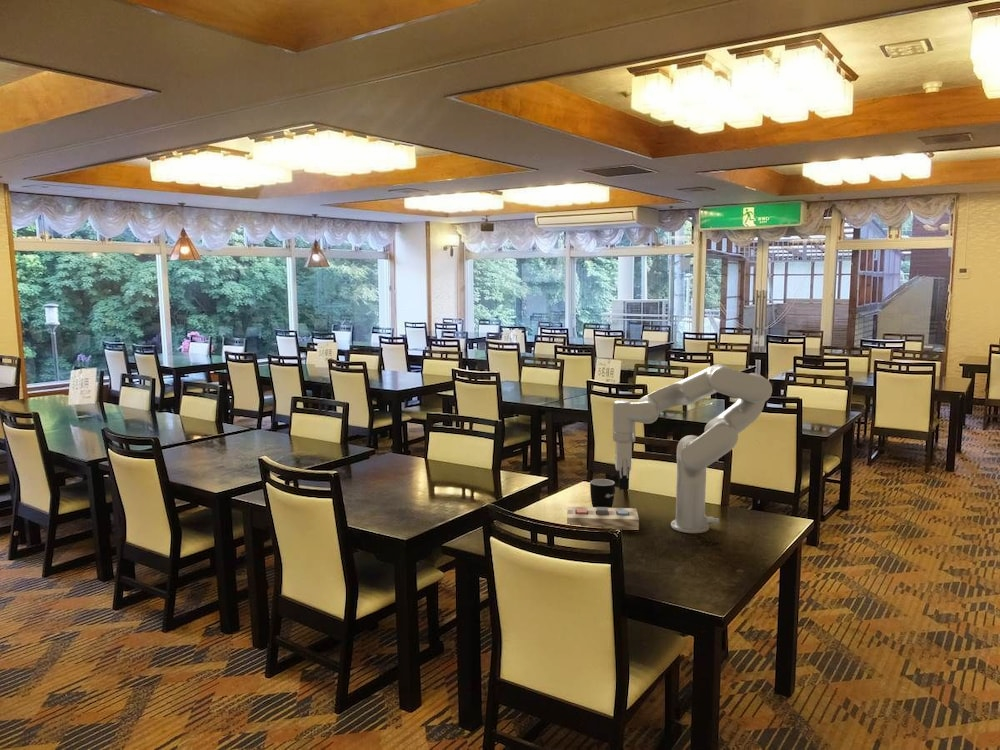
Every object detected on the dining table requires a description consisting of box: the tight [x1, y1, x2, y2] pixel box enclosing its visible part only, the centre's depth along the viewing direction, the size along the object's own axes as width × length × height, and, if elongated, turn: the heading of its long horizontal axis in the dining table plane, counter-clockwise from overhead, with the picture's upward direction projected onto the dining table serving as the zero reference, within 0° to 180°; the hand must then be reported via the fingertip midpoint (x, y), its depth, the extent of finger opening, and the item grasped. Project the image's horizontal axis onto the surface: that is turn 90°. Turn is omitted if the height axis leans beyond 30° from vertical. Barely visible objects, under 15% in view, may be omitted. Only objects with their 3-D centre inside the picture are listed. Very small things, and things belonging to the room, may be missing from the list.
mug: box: [589, 478, 616, 508], centre depth 267 cm, size 12×9×10 cm
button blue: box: [617, 510, 628, 516], centre depth 248 cm, size 4×4×3 cm
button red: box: [577, 509, 587, 514], centre depth 250 cm, size 4×4×3 cm
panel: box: [566, 506, 640, 532], centre depth 249 cm, size 24×12×4 cm, turn 84°
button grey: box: [597, 507, 608, 515], centre depth 249 cm, size 4×4×3 cm
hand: (623, 488), depth 247 cm, fingers closed
